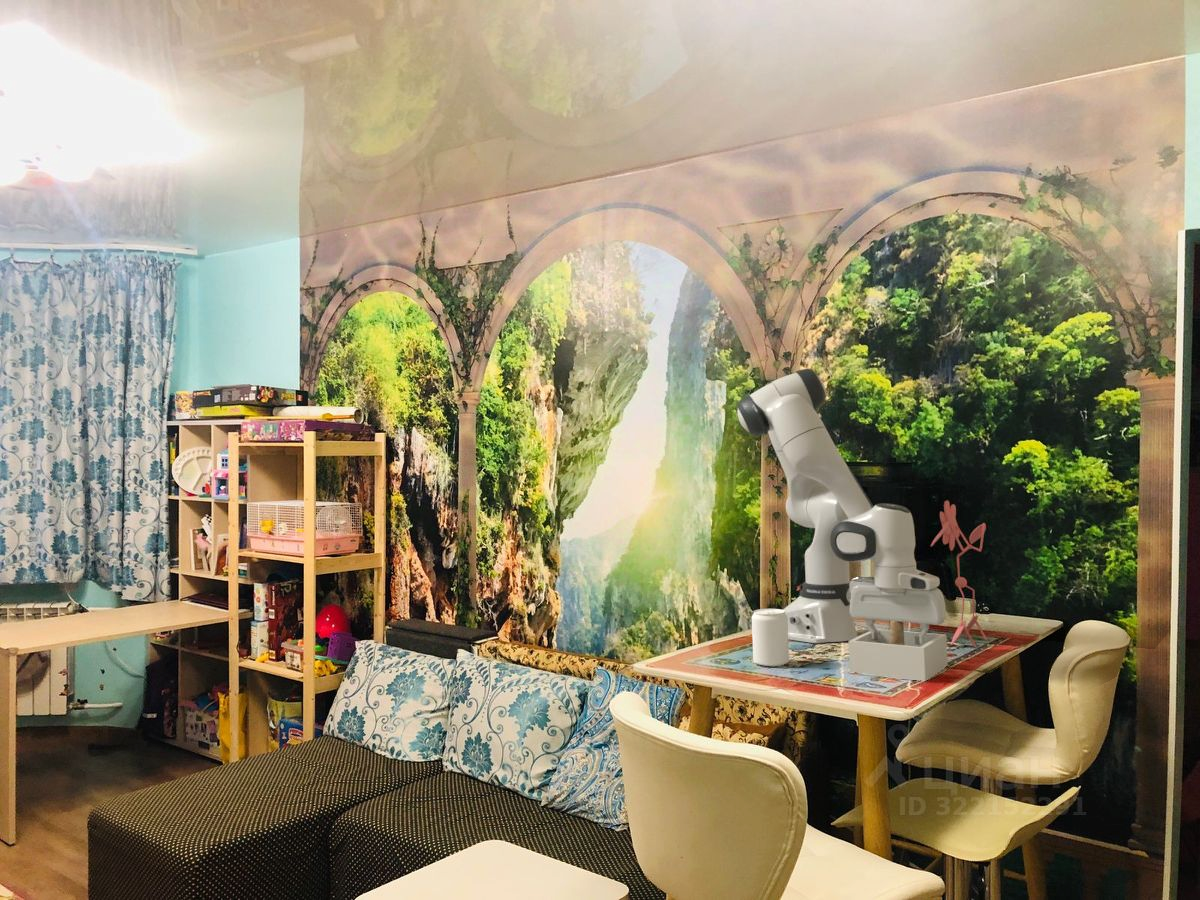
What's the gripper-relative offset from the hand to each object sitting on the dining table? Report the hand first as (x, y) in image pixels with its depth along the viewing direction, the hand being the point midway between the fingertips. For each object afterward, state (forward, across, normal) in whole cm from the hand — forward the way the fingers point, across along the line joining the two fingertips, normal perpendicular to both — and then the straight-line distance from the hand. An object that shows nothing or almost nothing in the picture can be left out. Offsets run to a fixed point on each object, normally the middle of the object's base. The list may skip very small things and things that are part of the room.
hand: (897, 641), depth 197 cm
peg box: (+6, 0, 0) cm, 6 cm away
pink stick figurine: (+6, +2, +36) cm, 36 cm away
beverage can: (+6, -27, -7) cm, 29 cm away
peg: (+5, 0, 0) cm, 5 cm away
